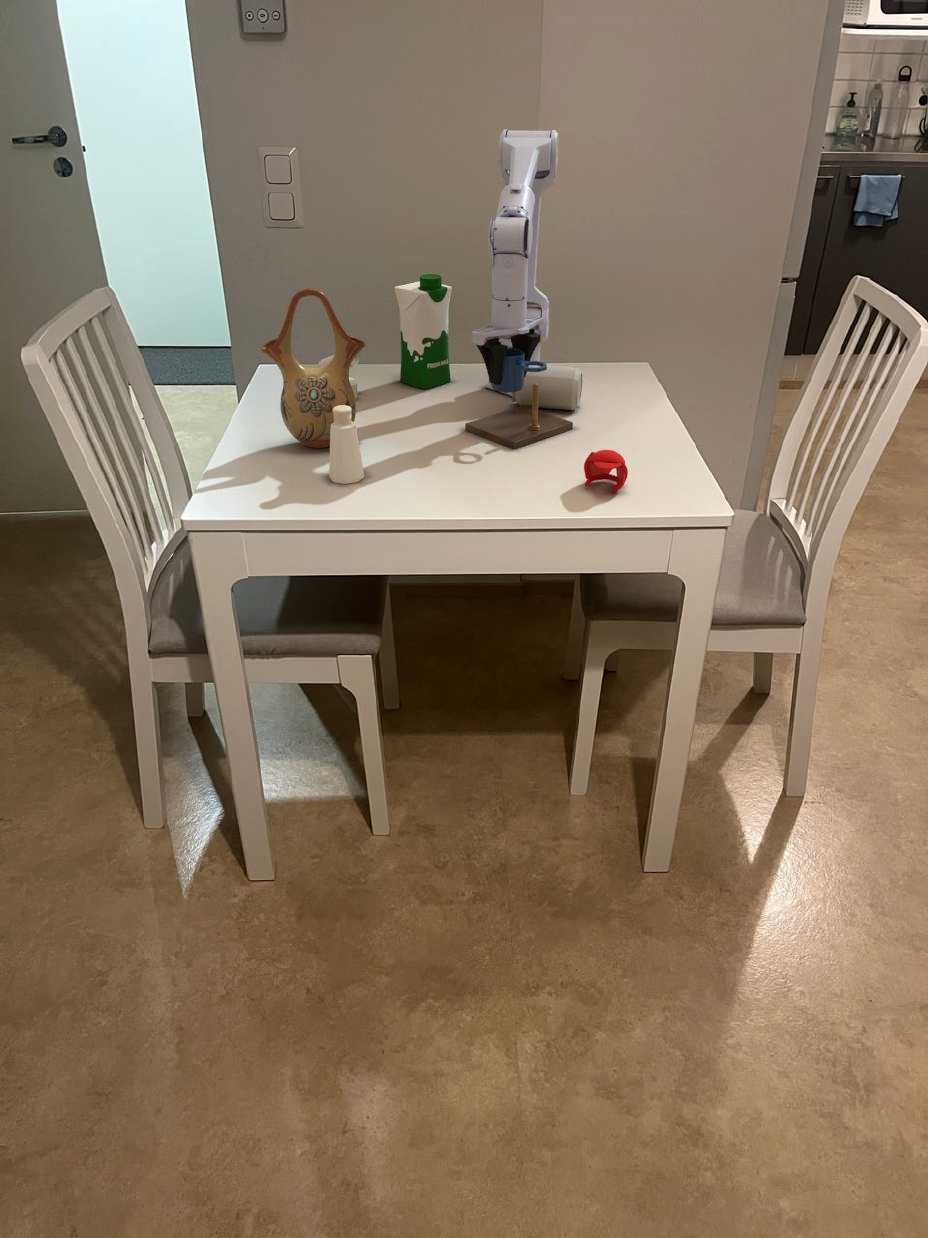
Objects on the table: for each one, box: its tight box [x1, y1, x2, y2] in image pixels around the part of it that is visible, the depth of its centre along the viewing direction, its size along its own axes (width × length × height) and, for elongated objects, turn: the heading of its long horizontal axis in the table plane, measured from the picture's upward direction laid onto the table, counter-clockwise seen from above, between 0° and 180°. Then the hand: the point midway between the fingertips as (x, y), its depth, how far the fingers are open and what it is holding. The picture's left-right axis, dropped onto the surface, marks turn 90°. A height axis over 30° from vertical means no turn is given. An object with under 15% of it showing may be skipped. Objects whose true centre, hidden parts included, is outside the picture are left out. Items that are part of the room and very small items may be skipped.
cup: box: [491, 348, 548, 393], centre depth 158 cm, size 11×5×6 cm, turn 42°
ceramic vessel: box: [259, 287, 367, 449], centre depth 151 cm, size 16×9×25 cm, turn 99°
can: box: [511, 364, 583, 411], centre depth 171 cm, size 8×8×12 cm
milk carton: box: [394, 273, 453, 390], centre depth 180 cm, size 9×9×20 cm
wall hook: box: [316, 353, 360, 400], centre depth 176 cm, size 9×10×10 cm
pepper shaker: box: [328, 405, 366, 485], centre depth 143 cm, size 5×5×11 cm
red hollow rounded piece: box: [583, 449, 629, 493], centre depth 141 cm, size 8×6×6 cm
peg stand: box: [464, 383, 574, 450], centre depth 161 cm, size 12×14×9 cm
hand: (507, 379), depth 161 cm, fingers closed on cup, 5 cm apart
